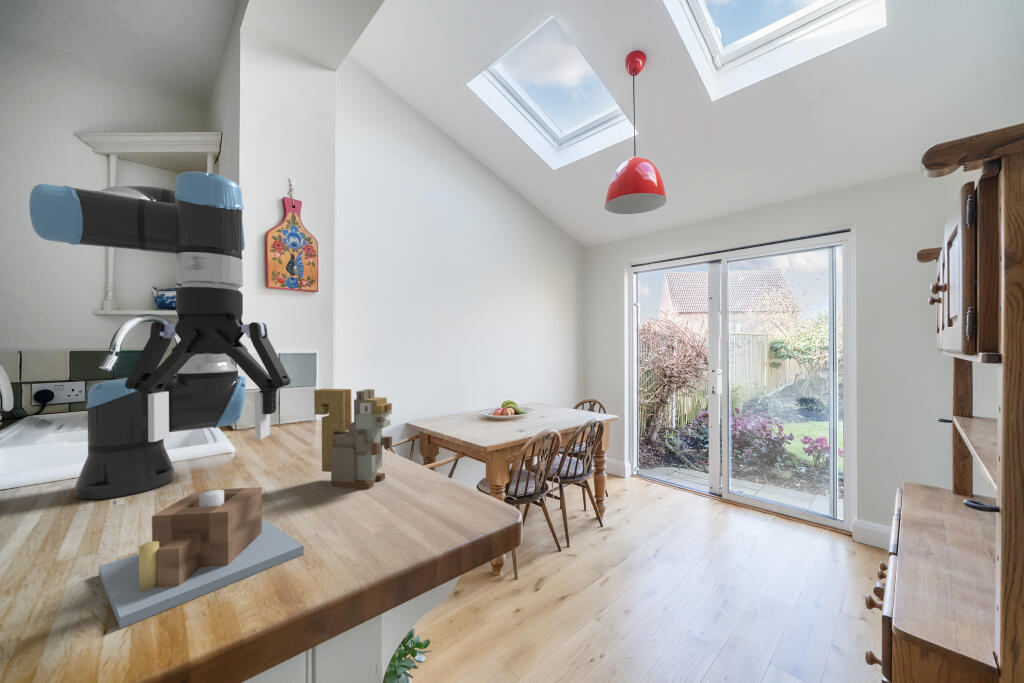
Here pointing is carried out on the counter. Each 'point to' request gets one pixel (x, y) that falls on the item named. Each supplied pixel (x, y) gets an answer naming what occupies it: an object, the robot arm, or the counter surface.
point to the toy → (353, 436)
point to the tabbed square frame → (204, 533)
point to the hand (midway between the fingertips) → (211, 438)
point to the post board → (137, 575)
